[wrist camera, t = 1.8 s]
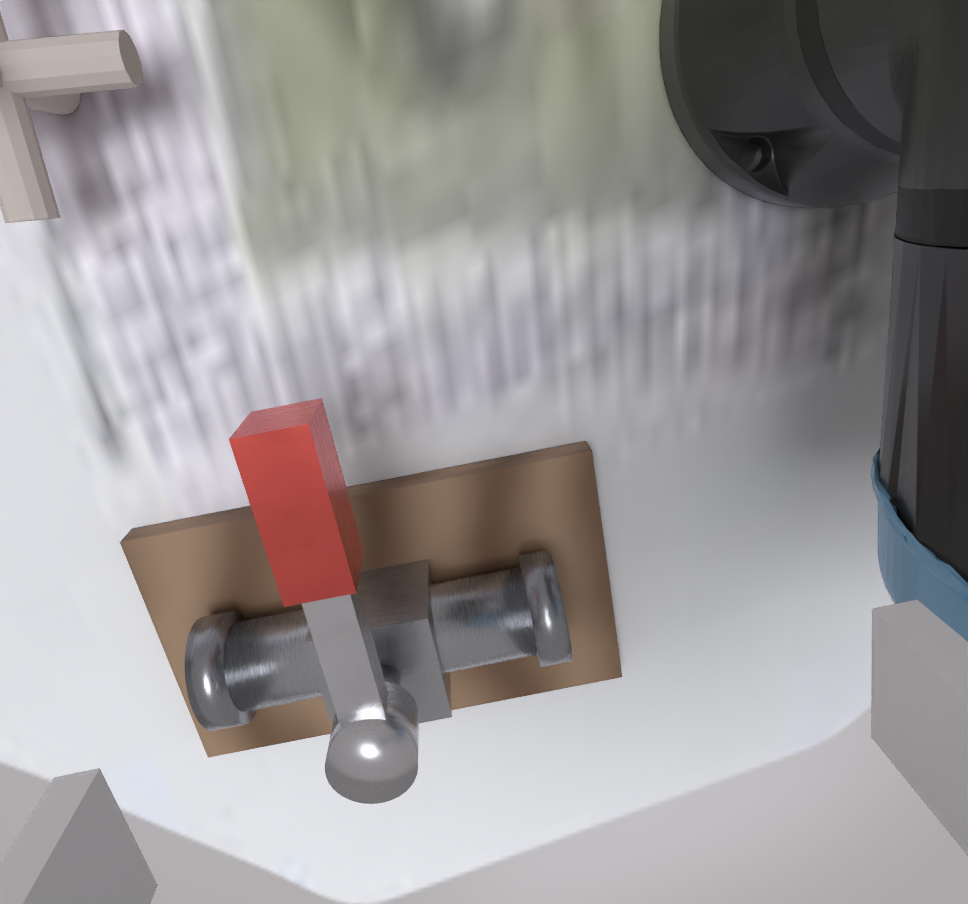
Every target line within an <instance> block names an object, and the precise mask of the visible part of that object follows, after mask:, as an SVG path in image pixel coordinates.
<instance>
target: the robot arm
mask: <svg viewBox="0 0 968 904" xmlns="http://www.w3.org/2000/svg"><path fill="white" fill-rule="evenodd" d="M660 53H661V63H662V71H663V77H664V82H665V87H666V91H667V94H668V98H669V101H670V104H671V107H672V110H673V113H674V115H675V117H676V120H677V122H678V124H679V126H680V128H681V130H682V132H683V134H684V136H685V137H686V139H687V141H688V142H689V144H690V145H691V147H692V148H693V149H694V151H695V152H696V154H697V155H698V156H699V157H700V158H701V160H702V161H703V162H704V163H705V164H706V165H707V166H708V167H709V168H710V169H711V170H712V171H713V172H714V173H715V174H716V175H717V176H719V177H720V178H721V179H722V180H724V181H725V182H726V183H728V184H729V185H731V186H732V187H734V188H736V189H737V190H739V191H741V192H743V193H745V194H747V195H749V196H751V197H754V198H756V199H759V200H762V201H765V202H769V203H773V204H777V205H783V206H791V207H809V208H834V207H844V206H851V205H856V204H860V203H865V202H869V201H872V200H875V199H879V198H882V197H885V196H887V195H890V194H892V193H895V192H897V191H898V198H897V214H896V230H895V233H894V245H893V267H892V288H891V303H890V317H889V331H888V345H887V360H886V374H885V388H884V402H883V416H882V430H881V444H880V449H879V450H878V452H877V453H876V454H875V455H874V456H873V464H872V469H871V477H872V483H873V489H874V491H875V494H876V497H877V500H878V561H879V566H880V571H881V575H882V578H883V581H884V583H885V586H886V588H887V590H888V592H889V594H890V596H891V598H892V600H893V602H894V603H895V604H894V605H889V606H884V607H879V608H874V609H872V701H871V737H872V739H873V740H874V741H875V742H876V743H877V745H878V746H879V747H880V748H881V750H882V751H883V752H884V753H885V755H886V756H887V757H888V758H889V760H890V761H891V762H892V763H893V764H894V765H895V767H896V768H897V769H898V770H899V772H900V773H901V774H902V776H903V777H904V778H905V779H906V780H907V782H908V783H909V784H910V785H911V786H912V788H913V789H914V790H915V792H916V793H917V794H918V795H919V796H920V798H921V799H922V800H923V801H924V802H925V804H926V805H927V806H928V807H929V809H930V810H931V811H932V812H933V814H934V815H935V816H936V817H937V819H938V820H939V821H940V822H941V823H942V825H943V826H944V827H945V828H946V830H947V831H948V832H949V833H950V834H951V836H952V837H953V838H954V839H955V840H956V842H957V843H958V844H959V846H960V847H961V848H962V849H963V851H964V852H965V853H966V854H967V855H968V0H663V4H662V11H661V23H660ZM156 887H157V883H156V881H155V879H154V877H153V875H152V873H151V871H150V869H149V867H148V865H147V863H146V861H145V859H144V857H143V855H142V853H141V851H140V849H139V847H138V845H137V843H136V841H135V838H134V836H133V834H132V832H131V831H130V829H129V826H128V824H127V822H126V820H125V818H124V816H123V814H122V812H121V810H120V808H119V806H118V804H117V802H116V800H115V798H114V796H113V794H112V792H111V790H110V788H109V786H108V784H107V782H106V780H105V778H104V776H103V774H102V772H101V770H100V768H98V769H94V770H89V771H84V772H79V773H74V774H69V775H64V776H60V777H55V778H54V779H53V780H52V782H51V784H50V785H49V787H48V788H47V790H46V791H45V793H44V795H43V796H42V798H41V799H40V801H39V802H38V804H37V806H36V807H35V809H34V810H33V812H32V814H31V815H30V817H29V818H28V820H27V821H26V823H25V824H24V826H23V828H22V829H21V831H20V833H19V834H18V836H17V837H16V839H15V840H14V842H13V843H12V845H11V847H10V848H9V850H8V851H7V853H6V854H5V856H4V858H3V859H2V861H1V862H0V904H150V903H151V900H152V897H153V895H154V893H155V890H156Z"/></svg>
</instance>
